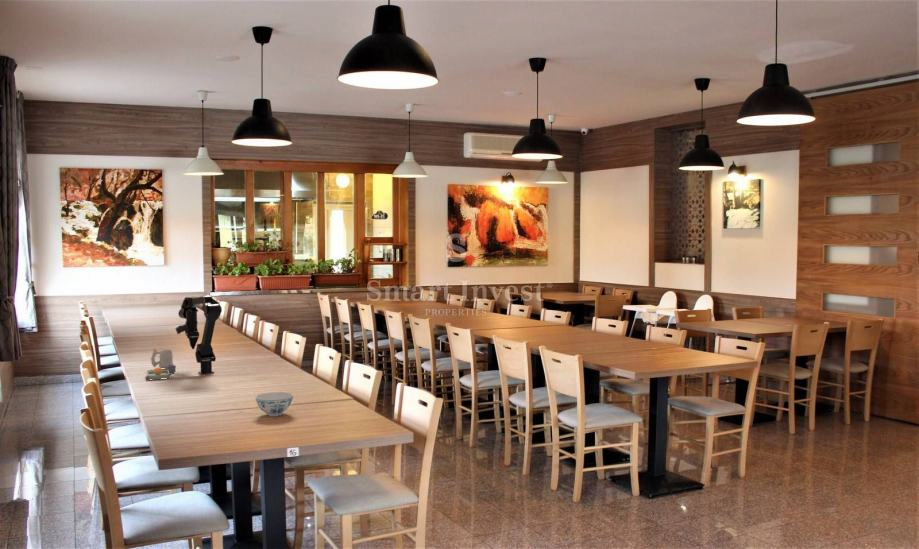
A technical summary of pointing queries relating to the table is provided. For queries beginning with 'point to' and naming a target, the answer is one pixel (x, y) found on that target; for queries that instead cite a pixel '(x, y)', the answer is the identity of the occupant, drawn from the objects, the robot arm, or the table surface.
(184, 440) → the table surface
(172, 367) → the cylinder with square socket
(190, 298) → the robot arm
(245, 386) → the table surface
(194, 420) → the table surface
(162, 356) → the mug
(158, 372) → the ball
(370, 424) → the table surface
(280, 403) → the chinaware
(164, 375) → the tray
